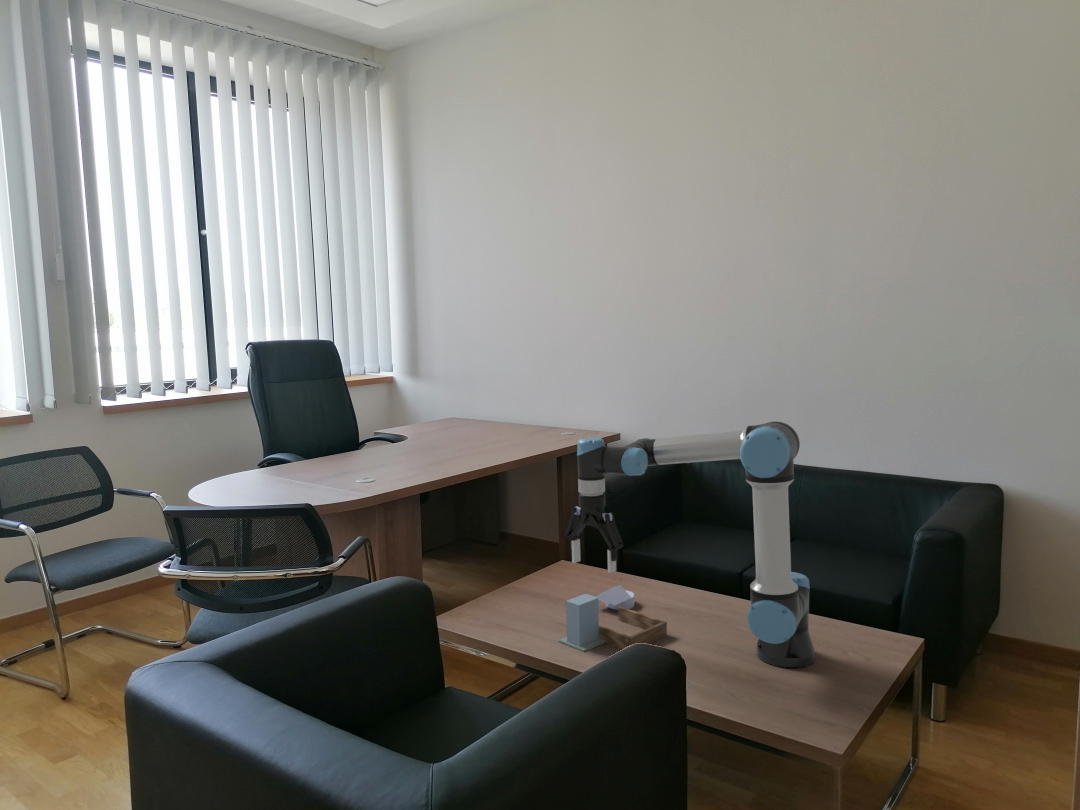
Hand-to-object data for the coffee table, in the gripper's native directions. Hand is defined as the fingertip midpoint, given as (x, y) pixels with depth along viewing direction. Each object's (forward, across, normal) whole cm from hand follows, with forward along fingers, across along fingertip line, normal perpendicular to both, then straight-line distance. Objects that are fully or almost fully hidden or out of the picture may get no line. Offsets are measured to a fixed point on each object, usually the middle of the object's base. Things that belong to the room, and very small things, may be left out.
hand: (593, 566), depth 224 cm
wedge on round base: (+22, +13, -24) cm, 36 cm away
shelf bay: (+22, -3, -9) cm, 24 cm away
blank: (+21, +2, +3) cm, 22 cm away
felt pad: (+22, +3, +3) cm, 22 cm away
